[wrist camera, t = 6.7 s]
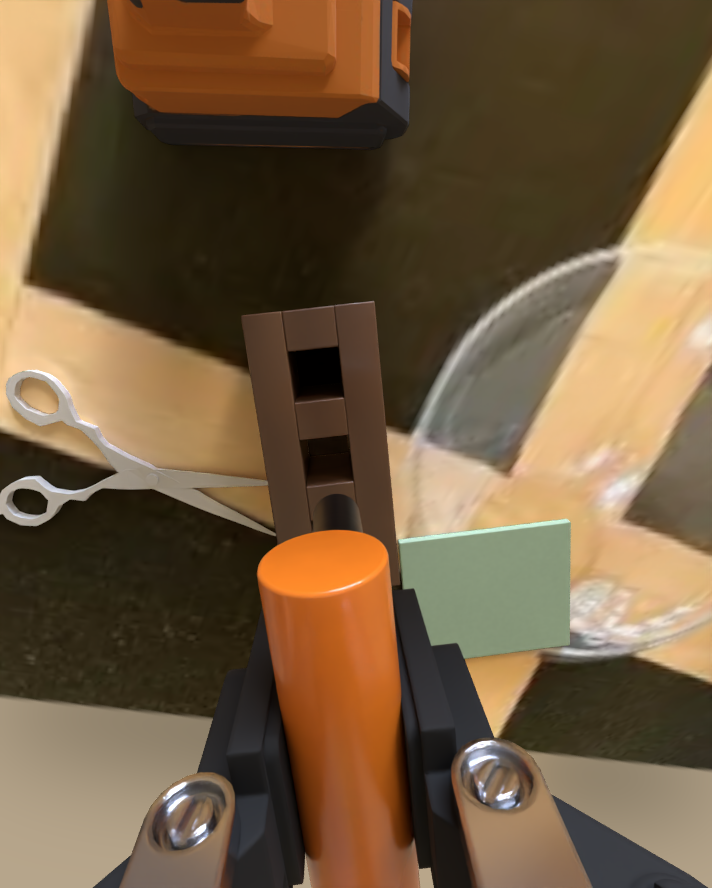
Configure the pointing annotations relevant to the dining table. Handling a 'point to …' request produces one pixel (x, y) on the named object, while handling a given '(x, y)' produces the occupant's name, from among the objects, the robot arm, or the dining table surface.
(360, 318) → the rack
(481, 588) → the mat
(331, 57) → the power drill
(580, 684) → the dining table surface
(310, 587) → the t handle
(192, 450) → the dining table surface
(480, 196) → the dining table surface
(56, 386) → the scissors
